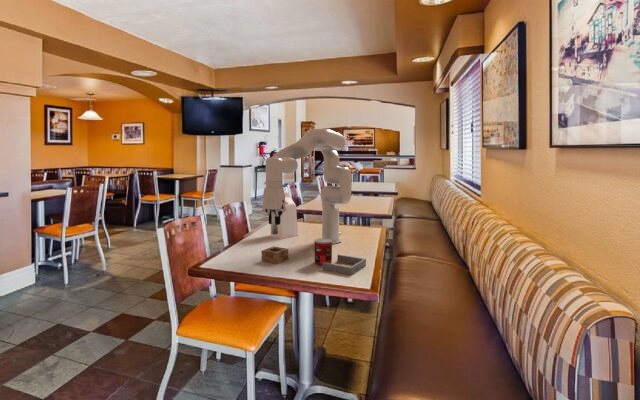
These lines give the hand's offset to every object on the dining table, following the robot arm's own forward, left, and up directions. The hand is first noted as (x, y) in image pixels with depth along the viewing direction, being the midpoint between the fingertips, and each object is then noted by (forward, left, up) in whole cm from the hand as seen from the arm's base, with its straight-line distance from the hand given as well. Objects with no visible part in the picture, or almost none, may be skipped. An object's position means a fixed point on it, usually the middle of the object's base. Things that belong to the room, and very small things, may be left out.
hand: (274, 223), depth 172 cm
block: (0, 0, -18) cm, 18 cm away
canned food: (-7, +22, -18) cm, 29 cm away
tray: (-7, +33, -17) cm, 38 cm away
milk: (-43, -26, -18) cm, 53 cm away
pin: (0, 0, -5) cm, 5 cm away
